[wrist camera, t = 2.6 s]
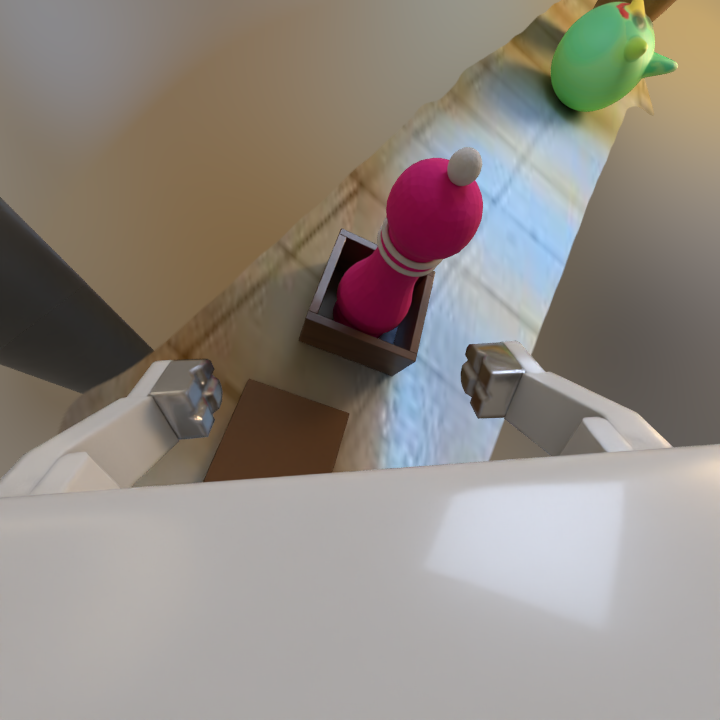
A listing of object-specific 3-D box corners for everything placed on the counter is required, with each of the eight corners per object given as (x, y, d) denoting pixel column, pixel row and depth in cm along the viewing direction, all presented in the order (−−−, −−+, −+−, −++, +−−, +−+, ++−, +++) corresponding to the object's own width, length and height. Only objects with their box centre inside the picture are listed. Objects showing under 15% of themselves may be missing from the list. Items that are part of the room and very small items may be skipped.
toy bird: (572, 73, 69) (647, -20, 55) (613, 131, 66) (701, 48, 53) (520, 70, 62) (591, -37, 48) (563, 135, 59) (651, 41, 46)
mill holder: (392, 376, 33) (415, 361, 28) (298, 340, 31) (305, 318, 26) (412, 296, 37) (435, 271, 32) (330, 260, 35) (341, 227, 30)
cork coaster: (199, 492, 25) (198, 493, 24) (249, 379, 28) (248, 378, 28) (315, 524, 26) (316, 525, 26) (348, 414, 30) (349, 413, 30)
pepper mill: (342, 355, 32) (450, 218, 14) (318, 295, 33) (387, 95, 15) (400, 337, 34) (553, 203, 16) (375, 282, 36) (493, 101, 18)
